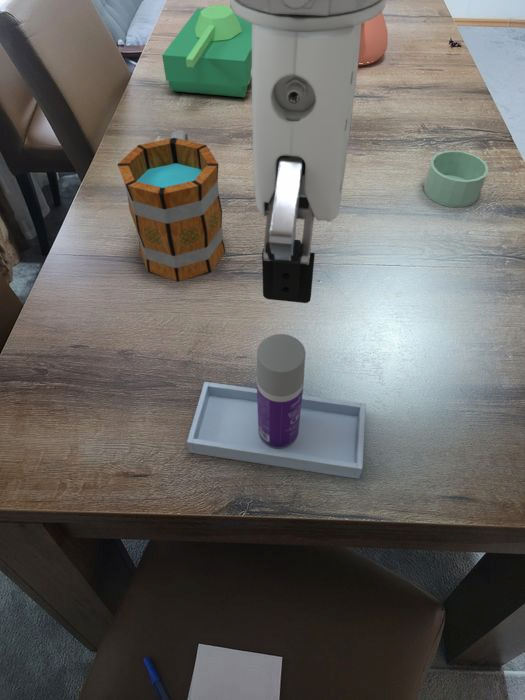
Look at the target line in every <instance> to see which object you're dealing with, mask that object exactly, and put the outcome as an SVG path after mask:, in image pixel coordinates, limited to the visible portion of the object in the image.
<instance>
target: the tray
mask: <svg viewBox="0 0 525 700" xmlns="http://www.w3.org/2000/svg"><path fill="white" fill-rule="evenodd" d="M365 422H366V403H363V402H356V401H347V400H340V399H333V398H325V397H319V396H311V395H305V394H302V404H301V413H300V422H299V431H298V436H297V439H296V441H295V442H294V443H293V444H292V445H290V446H289V447H287V448H283V449H274V448H271V447H268V446H267V445H265V444H264V443H263V442H262V441H261V439H260V437H259V433H258V408H257V388H253V387H247V386H239V385H232V384H226V383H219V382H218V383H217V382H210V381H204V382H203V385H202V389H201V392H200V396H199V399H198V402H197V406H196V409H195V413H194V416H193V420H192V423H191V426H190V430H189V433H188V437H187V439H186V444H187V448H188V452H189V453H190V454H194V455H195V454H196V455H201V456H208V457H213V458H220V459H221V458H222V459H228V460H235V461H241V462H247V463H255V464H261V465H267V466H273V467H279V468H285V469H286V468H287V469H292V470H298V471H306V472H311V473H317V474H323V475H332V476H336V477H337V476H338V477H345V478H350V479H357V480H359V479H360V477H361V475H362V471H363V465H364V463H363V462H364V444H365V425H366V424H365Z"/></svg>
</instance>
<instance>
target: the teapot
mask: <svg viewBox="0 0 525 700" xmlns="http://www.w3.org/2000/svg"><path fill="white" fill-rule="evenodd" d="M388 34H389V33H388V27H387V23H386V20H385V17H384V14H383V11H382V12H381V13H379V14H378V15H377V16H376V17H375V18H373V19H371V20H369V21H367V22H364V23H362V24H361V34H360V48H359V60H358V66H366V65H370V64H373V63H375V62H377V61H378V60H379V59H380V58H381V57H382V56H383V55H384V54H385V53H386V51H387V49H388V42H389V35H388ZM372 61H373V62H372ZM367 62H369V63H367ZM359 63H363V64H359Z"/></svg>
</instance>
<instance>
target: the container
mask: <svg viewBox="0 0 525 700" xmlns="http://www.w3.org/2000/svg"><path fill="white" fill-rule="evenodd" d="M305 364H306V349H305V347H304V344H303V343H302V342H301V341H300V340H299V339H298V338H296V337H294V336H293V335H290V334H285V333H277V334H272V335H270V336H267V337H266V338H264V339H263V340H262V341H261V342H260V343H259V345H258V347H257V351H256V389H257V408H258V433H259V437H260V439H261V441H262V442H263V443H264V444H265V445H267V446H268V447H271V448H274V449H283V448H287V447H289V446H290V445H292V444H293V443H294V442H295V441H296V439H297V436H298V431H299V422H300V413H301V404H302V395H304V384H305V383H304V382H305V368H306V367H305V366H306V365H305Z"/></svg>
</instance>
